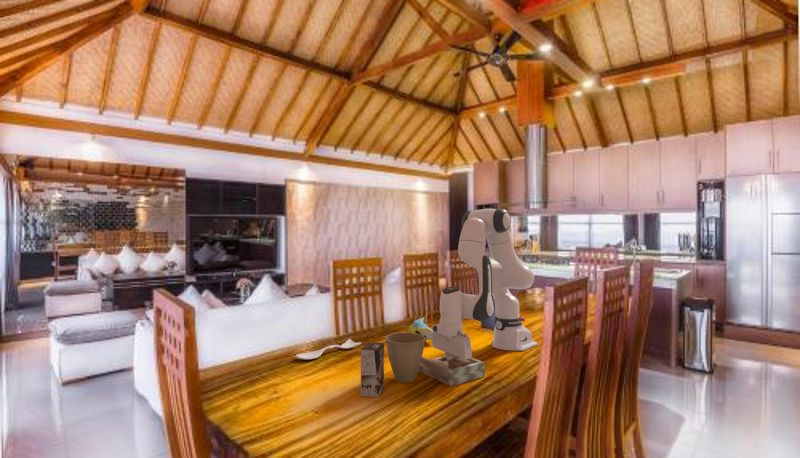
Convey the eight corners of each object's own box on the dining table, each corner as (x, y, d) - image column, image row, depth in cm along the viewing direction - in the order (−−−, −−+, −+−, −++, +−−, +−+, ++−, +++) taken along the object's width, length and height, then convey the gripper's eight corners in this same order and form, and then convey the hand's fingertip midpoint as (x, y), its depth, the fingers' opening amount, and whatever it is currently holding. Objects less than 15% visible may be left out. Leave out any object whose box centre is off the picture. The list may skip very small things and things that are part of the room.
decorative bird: (415, 346, 199) (415, 327, 199) (400, 331, 228) (400, 314, 228) (442, 344, 202) (442, 325, 202) (424, 329, 232) (424, 312, 232)
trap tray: (447, 361, 177) (447, 348, 177) (484, 376, 159) (484, 362, 159) (415, 369, 168) (415, 355, 168) (450, 386, 150) (450, 371, 150)
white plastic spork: (361, 348, 197) (361, 341, 197) (302, 364, 175) (302, 356, 175) (350, 344, 204) (350, 337, 204) (292, 359, 182) (291, 352, 181)
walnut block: (460, 367, 162) (460, 357, 162) (470, 372, 157) (470, 361, 157) (448, 370, 159) (448, 360, 159) (458, 375, 154) (458, 364, 154)
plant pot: (397, 390, 147) (396, 345, 147) (379, 376, 160) (379, 335, 160) (432, 382, 154) (432, 339, 153) (413, 370, 167) (412, 330, 167)
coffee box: (378, 397, 140) (378, 350, 140) (360, 396, 142) (359, 349, 141) (385, 387, 149) (384, 342, 149) (367, 386, 150) (367, 341, 150)
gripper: (475, 333, 155) (475, 370, 155) (441, 323, 172) (441, 356, 172) (462, 336, 151) (463, 374, 152) (428, 325, 169) (429, 359, 169)
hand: (451, 364), depth 162 cm, fingers closed
